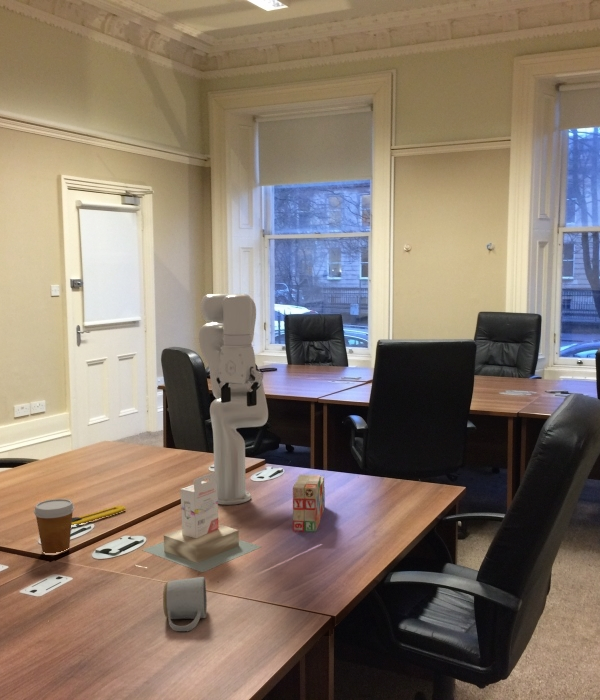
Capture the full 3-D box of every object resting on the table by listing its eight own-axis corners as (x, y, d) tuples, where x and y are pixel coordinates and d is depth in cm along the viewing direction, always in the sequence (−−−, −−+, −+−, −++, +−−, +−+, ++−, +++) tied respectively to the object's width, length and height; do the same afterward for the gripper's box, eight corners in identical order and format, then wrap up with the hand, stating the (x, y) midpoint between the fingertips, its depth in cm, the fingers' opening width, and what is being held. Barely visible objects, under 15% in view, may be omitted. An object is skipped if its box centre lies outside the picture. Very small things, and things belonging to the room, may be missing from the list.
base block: (164, 551, 174) (163, 535, 174) (205, 535, 185) (205, 520, 184) (197, 562, 166) (196, 546, 166) (238, 545, 177) (238, 530, 177)
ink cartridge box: (204, 525, 181) (203, 468, 179) (219, 528, 178) (218, 471, 176) (180, 535, 174) (179, 476, 172) (195, 539, 171) (194, 479, 169)
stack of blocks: (304, 506, 210) (303, 465, 208) (325, 507, 209) (324, 466, 208) (292, 531, 189) (292, 486, 187) (316, 532, 188) (315, 487, 186)
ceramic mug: (166, 608, 144) (165, 572, 143) (207, 606, 145) (206, 570, 144) (161, 635, 133) (160, 596, 133) (205, 632, 134) (204, 594, 133)
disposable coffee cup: (38, 561, 169) (36, 512, 168) (33, 548, 178) (31, 501, 177) (79, 554, 174) (77, 506, 172) (72, 541, 182) (70, 496, 181)
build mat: (141, 551, 175) (141, 549, 175) (201, 529, 190) (201, 527, 190) (202, 574, 161) (202, 572, 161) (261, 548, 176) (261, 546, 176)
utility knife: (46, 528, 193) (46, 521, 193) (115, 507, 211) (115, 501, 211) (60, 533, 189) (60, 526, 189) (129, 512, 206) (129, 505, 206)
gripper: (205, 340, 193) (206, 402, 194) (251, 343, 182) (252, 409, 183) (224, 338, 198) (226, 399, 200) (271, 341, 187) (271, 405, 189)
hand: (238, 403), depth 192 cm, fingers open, 9 cm apart
